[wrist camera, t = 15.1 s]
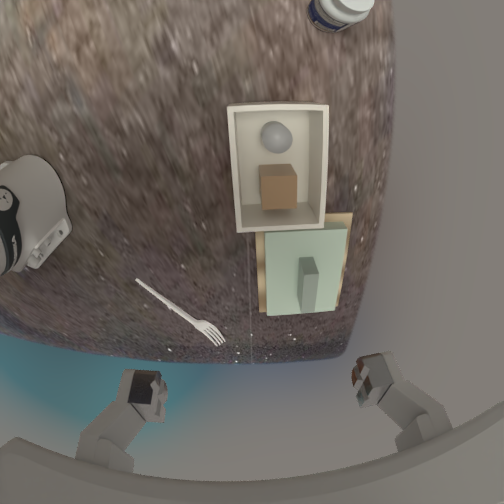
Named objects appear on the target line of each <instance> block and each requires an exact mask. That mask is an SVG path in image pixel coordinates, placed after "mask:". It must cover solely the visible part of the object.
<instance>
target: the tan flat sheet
mask: <svg viewBox="0 0 504 504" xmlns="http://www.w3.org/2000/svg"><path fill="white" fill-rule="evenodd" d="M352 214H353V213H352V212H336V213H325V219H324V222H340V221H343V222H344V224H345V225H346V227H347V229H348V231H347V239H346V246H345V253H344V259H343V266H342V272H341V278H340V284H339V289H338V295H337V300H336V305H335V306H338V302H339V297H340V292H341V287H342V281H343V275H344V270H345V264H346V257H347V251H348V244H349V237H350V230H351V222H352ZM255 236H256V256H257V276H258V296H259V312H267V310H266V281H265V247H264V231H258V232H255Z"/></svg>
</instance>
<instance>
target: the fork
mask: <svg viewBox="0 0 504 504" xmlns="http://www.w3.org/2000/svg"><path fill="white" fill-rule="evenodd" d="M136 281H137V282H138V283H139V284H141V285H142V286H143V287H144V288H146V289H147V290H148V291H149V292H151V293H152V294H153V295H154V296H156V297H157V298H158V299H160V300H161V301H162V302H163V303H165V304H166V305H167V306H169V307H170V308H171V309H173V310H174V311H175V312H177V313H178V314H179V315H181V316H182V317H183V318H185V319H186V320H188V321H189V322H190V323H192V324H193V325H194V326H195V328H196V329H198V330H199V331H201V332H202V333H203V334H205V335H206V336H207V337H208V338H209V339H210V340H211V341H212V342H213V343H214V344H215V345H216V346H217V347H218V345H217V344H216V342H215V341H214V340H213V338H214V339H215V340H216V341H217V342H218V343H219V345H221V344H220V342H219V341H218V340H217V338H218V339H219V340H220V341H221V342H222V340H221V339H220V337H221V338H222V339H223V340H224V342H225V339H224V337H223V336H222V334H221V333H220V331H219V330H218V329H217V327H215V326H214V325H212V324H210V323H209V322H207V321H205V320H196V319H195V318H193V317H192V316H190V315H189V314H188V313H186V312H185V311H183V310H182V309H181V308H179V307H178V306H176V305H175V304H173V303H172V302H170V301H169V300H168V299H166V298H165V297H163V296H162V295H160V294H159V293H157V292H156V291H155V290H153V289H152V288H150V287H149V286H148V285H146V284H145V283H143V282H142V281H141V280H139V279H138V278H137V279H136ZM209 326H210V327H211V328H212V329H211V328H209ZM206 328H208V329H209V330H210V331H209V330H207V329H206ZM204 330H206V331H207V332H208V333H209V334H210V335H211V336H212V337H213V338H212V337H211V336H210V335H209V334H208V333H207V332H206V331H204ZM215 331H216V332H217V333H218V334H219V336H220V337H219V336H218V335H217V333H216V332H215ZM213 334H214V335H215V336H216V337H217V338H216V337H215V336H214V335H213ZM222 343H223V342H222Z"/></svg>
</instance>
